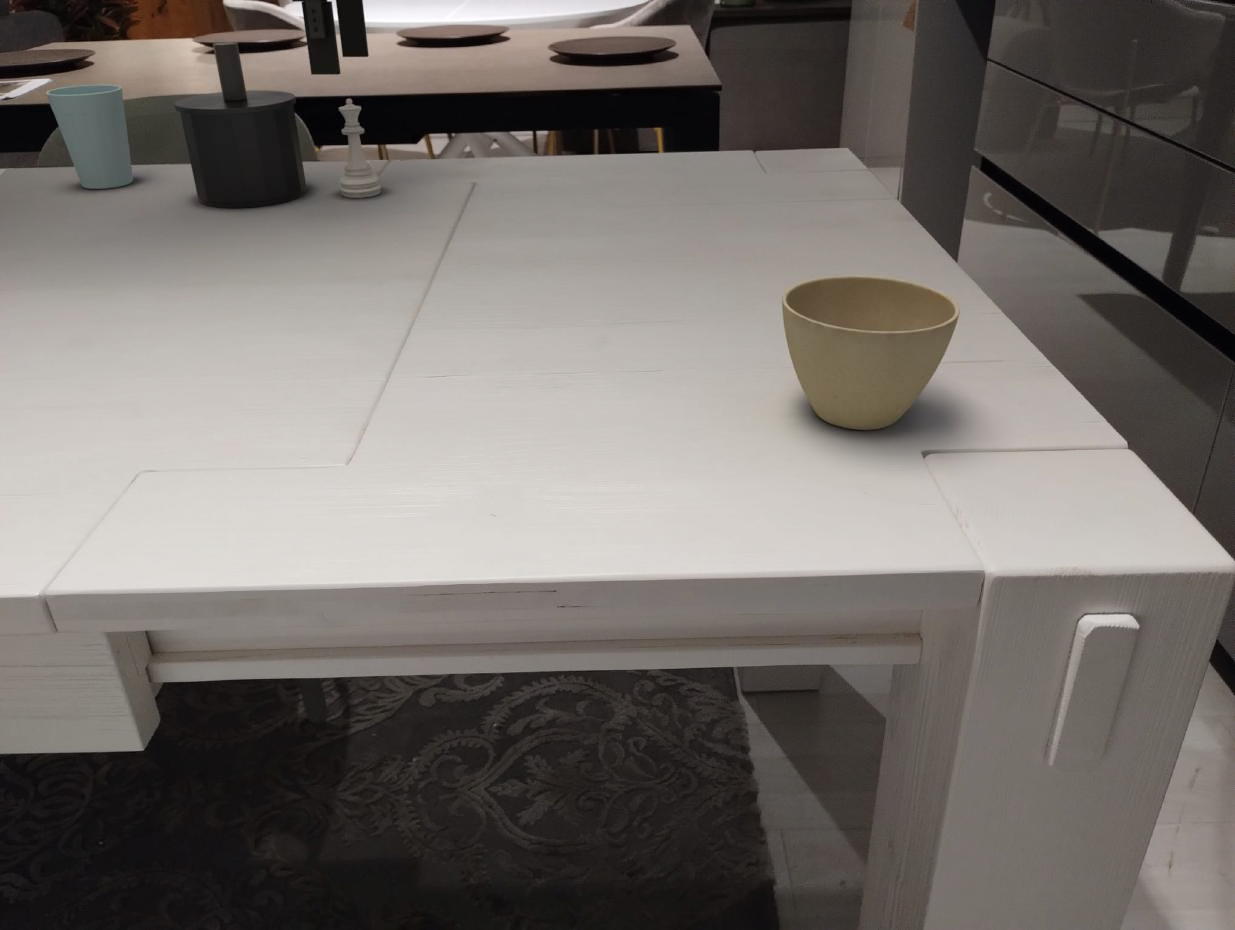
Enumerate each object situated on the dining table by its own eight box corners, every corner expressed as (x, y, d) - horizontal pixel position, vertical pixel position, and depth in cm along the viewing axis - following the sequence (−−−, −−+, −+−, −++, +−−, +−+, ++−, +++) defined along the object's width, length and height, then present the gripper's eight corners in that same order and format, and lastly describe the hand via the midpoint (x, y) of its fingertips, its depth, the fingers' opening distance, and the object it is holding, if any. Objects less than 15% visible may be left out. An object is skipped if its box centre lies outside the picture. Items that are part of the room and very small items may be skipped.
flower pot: (946, 458, 57) (966, 338, 53) (767, 441, 59) (775, 325, 55) (938, 385, 65) (954, 278, 62) (781, 373, 67) (788, 269, 64)
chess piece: (354, 187, 115) (341, 94, 110) (388, 190, 113) (377, 96, 109) (333, 196, 111) (319, 101, 106) (368, 199, 110) (355, 102, 105)
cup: (58, 185, 118) (33, 90, 113) (123, 173, 123) (101, 82, 118) (89, 195, 113) (64, 97, 108) (154, 182, 118) (133, 88, 113)
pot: (182, 209, 107) (162, 115, 103) (218, 183, 117) (201, 97, 113) (290, 207, 107) (274, 113, 103) (317, 182, 117) (304, 95, 113)
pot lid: (158, 122, 103) (142, 51, 99) (200, 102, 113) (187, 37, 110) (278, 120, 103) (266, 49, 99) (309, 100, 113) (299, 36, 110)
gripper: (319, -187, 85) (351, 82, 95) (378, -167, 107) (399, 50, 117) (229, -187, 85) (271, 82, 95) (306, -167, 106) (333, 50, 117)
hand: (341, 65), depth 106 cm, fingers open, 13 cm apart
